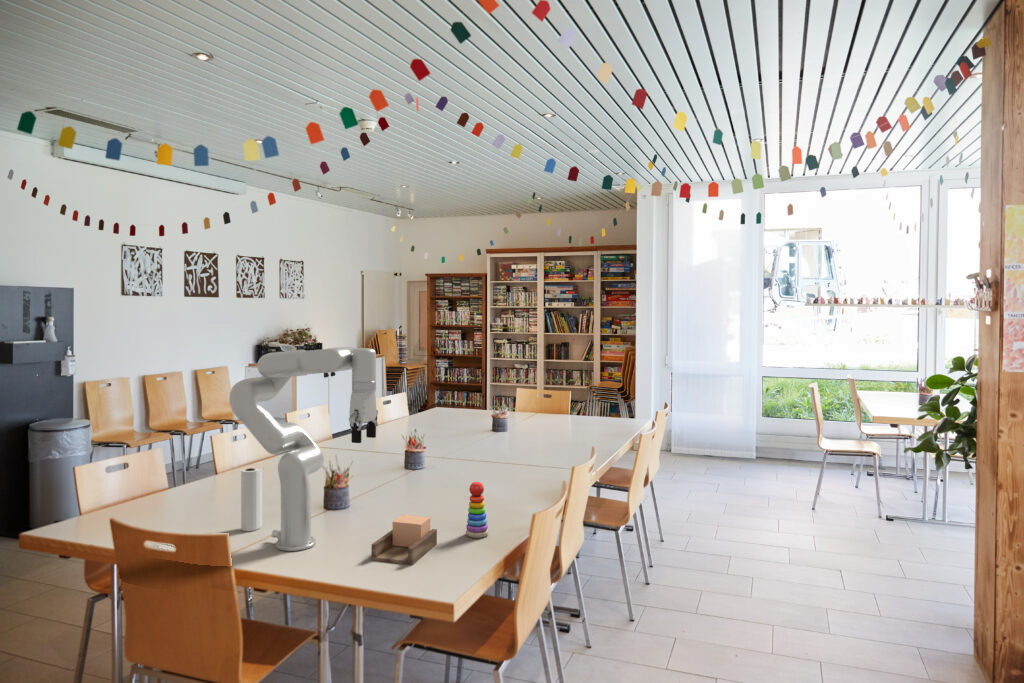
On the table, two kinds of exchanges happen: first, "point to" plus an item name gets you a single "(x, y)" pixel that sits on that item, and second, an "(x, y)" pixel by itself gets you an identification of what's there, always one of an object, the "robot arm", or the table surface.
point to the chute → (402, 549)
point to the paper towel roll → (252, 499)
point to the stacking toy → (476, 513)
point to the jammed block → (409, 530)
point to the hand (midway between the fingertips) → (363, 440)
